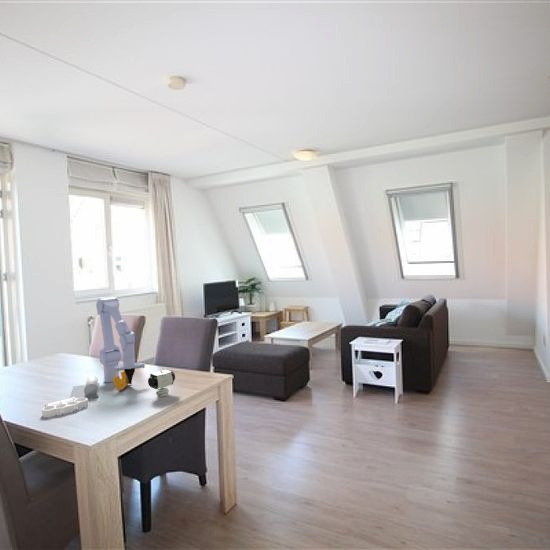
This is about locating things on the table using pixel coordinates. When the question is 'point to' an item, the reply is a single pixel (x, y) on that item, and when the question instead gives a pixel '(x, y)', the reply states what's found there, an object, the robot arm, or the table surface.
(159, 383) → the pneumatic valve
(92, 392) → the duct pipe
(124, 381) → the orange notched block
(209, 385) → the table surface
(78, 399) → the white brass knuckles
